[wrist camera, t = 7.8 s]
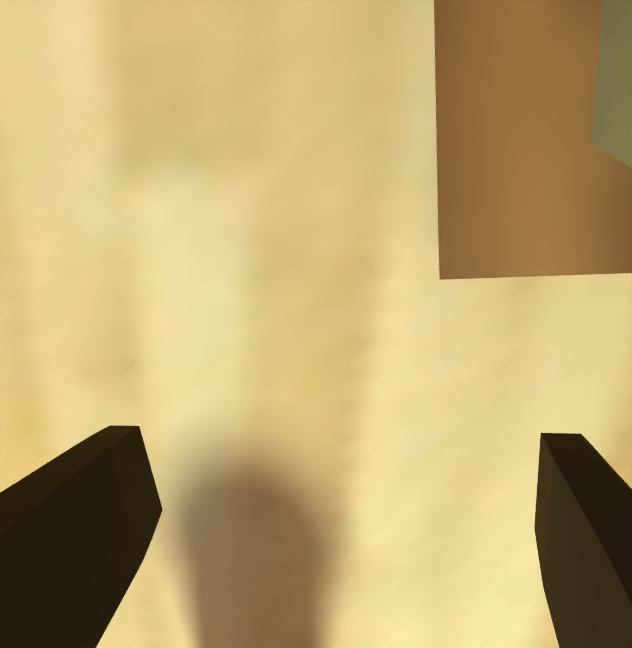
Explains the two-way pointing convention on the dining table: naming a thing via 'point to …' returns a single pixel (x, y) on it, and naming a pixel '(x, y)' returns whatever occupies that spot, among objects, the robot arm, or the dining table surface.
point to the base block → (524, 143)
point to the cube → (614, 82)
